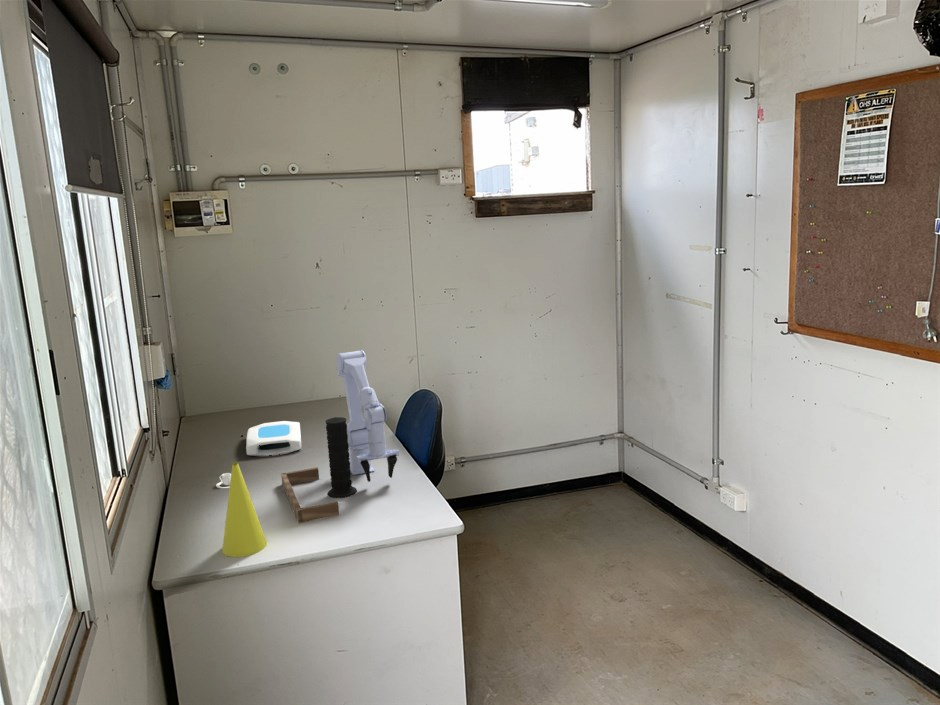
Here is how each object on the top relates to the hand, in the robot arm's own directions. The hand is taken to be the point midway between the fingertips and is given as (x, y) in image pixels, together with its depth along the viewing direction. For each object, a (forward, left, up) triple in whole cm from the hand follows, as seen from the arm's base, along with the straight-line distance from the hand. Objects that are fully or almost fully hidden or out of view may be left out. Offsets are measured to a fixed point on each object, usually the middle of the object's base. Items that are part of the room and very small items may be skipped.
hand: (379, 478), depth 246 cm
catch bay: (0, -24, -2) cm, 24 cm away
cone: (+27, -47, -3) cm, 54 cm away
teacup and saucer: (-25, -48, -3) cm, 54 cm away
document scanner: (-66, -27, -3) cm, 71 cm away
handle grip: (0, -13, -3) cm, 13 cm away
